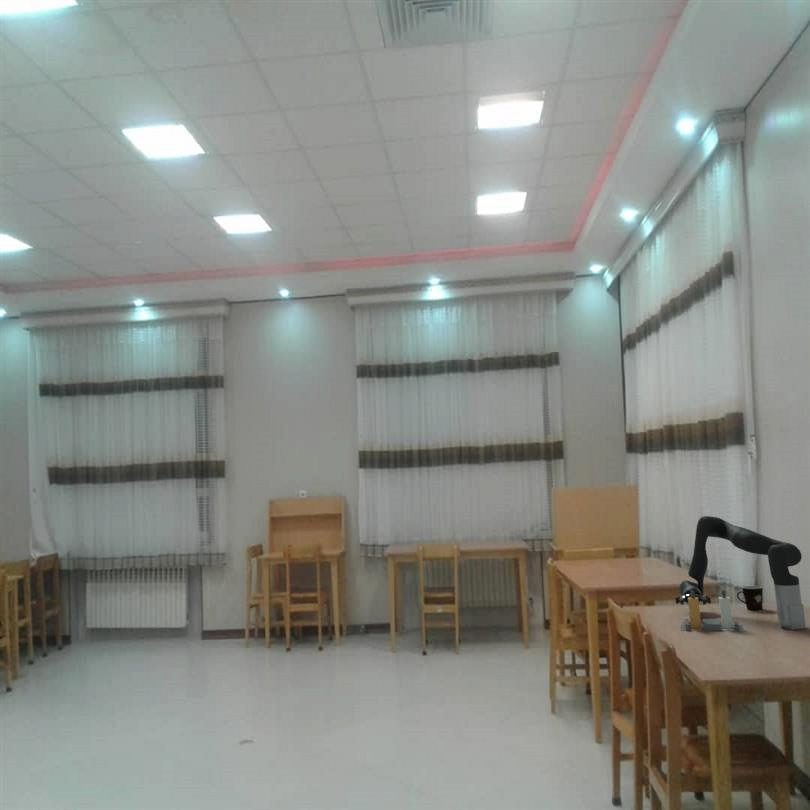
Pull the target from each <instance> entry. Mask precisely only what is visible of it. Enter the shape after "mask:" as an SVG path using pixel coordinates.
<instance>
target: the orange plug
mask: <svg viewBox="0 0 810 810" xmlns="http://www.w3.org/2000/svg"><path fill="white" fill-rule="evenodd" d="M688 604H689V605H688ZM688 604H687V605H688V611H689V621H690V625H691V629H702V628H701V625H702V621H701V620H702V619H701V611H700V604H699V600H698V597H695V595H694V591H691V597H689V598H688Z"/></svg>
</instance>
